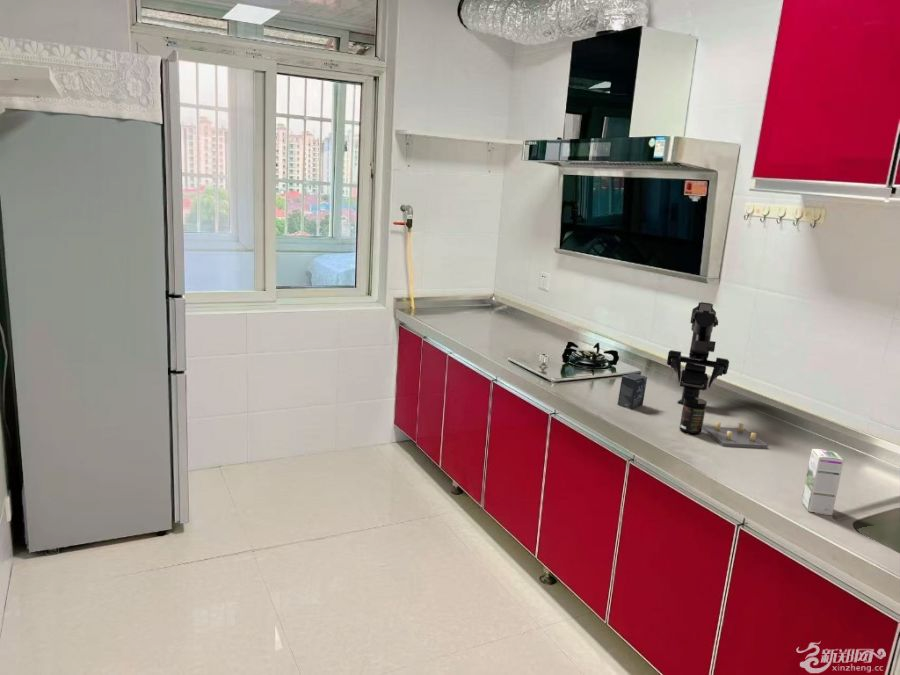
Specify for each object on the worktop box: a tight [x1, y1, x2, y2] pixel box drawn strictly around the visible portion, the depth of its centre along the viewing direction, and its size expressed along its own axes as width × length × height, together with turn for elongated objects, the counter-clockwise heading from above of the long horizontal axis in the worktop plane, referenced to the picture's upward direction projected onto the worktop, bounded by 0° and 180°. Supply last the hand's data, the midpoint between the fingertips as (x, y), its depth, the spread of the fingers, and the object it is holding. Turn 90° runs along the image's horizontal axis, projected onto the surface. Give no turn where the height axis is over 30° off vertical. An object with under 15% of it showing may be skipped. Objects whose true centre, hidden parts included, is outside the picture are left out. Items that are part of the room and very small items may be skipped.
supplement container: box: [679, 397, 708, 436], centre depth 216 cm, size 7×7×10 cm
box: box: [617, 372, 648, 410], centre depth 238 cm, size 8×6×11 cm
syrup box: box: [801, 448, 844, 516], centre depth 168 cm, size 6×6×14 cm
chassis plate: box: [702, 421, 768, 449], centre depth 214 cm, size 14×14×4 cm
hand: (693, 384), depth 221 cm, fingers open, 9 cm apart
